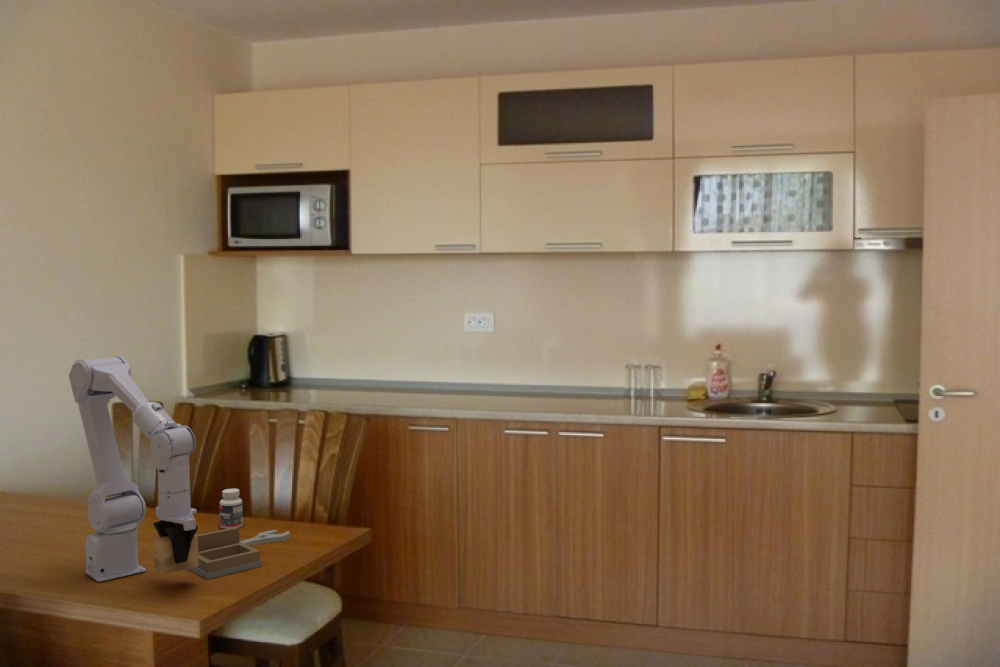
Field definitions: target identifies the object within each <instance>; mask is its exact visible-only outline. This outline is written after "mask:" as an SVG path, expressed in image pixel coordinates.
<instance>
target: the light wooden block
mask: <svg viewBox="0 0 1000 667" xmlns="http://www.w3.org/2000/svg"><path fill="white" fill-rule="evenodd" d="M197 535H198V534H195V535H194V537H193V540H192V542H191V546H190V550H189V555H188V559H187V561H186V562H182V563H175V560H174V556H173V549H172V544H171V541H170V538H169V536H165V537H160V536H159V537H157V538H156V537H155V538H153V555H154V556H153V558H154V563H153V564H154V571H156V572H158V573H160V574H162V575H165V574H170V573H175V572H179V571H183V570H189V569H188V568H193V567H197V566H198V536H197Z"/></svg>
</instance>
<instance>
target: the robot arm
mask: <svg viewBox="0 0 1000 667" xmlns="http://www.w3.org/2000/svg"><path fill="white" fill-rule="evenodd" d="M68 378H69V383H70V387H71V391H72V395H73V400H74V402H75V403H77V405H78V410H79V412H80V413H79V414H80V418H81V423H82V425H83V426H82V428H83V431H84V435H85V439H86V443H87V446H88V452H89V456H90V459H91V463H92V464H91V465H92V468H93V472H94V476H95V480H96V484H97V485H96V487H95V488H94V489H93V490H92V491H91V493H90V494H89V495H88V497H87V498H86V500H87V503H88V504H87V505H88V512H87V517H88V518H87V519H88V522H89V524H90V526H91V528H92V529H93V530H94V531H95V532H94V533H91V534H88V535H87V536H86V538H85V564H86V566H85V567H86V570H85V571H84V572H85V575H87V576H89V577H90V578H92V579H94V580H95V581H96V582H98V583H99V582H104V581H109V580H112V579H117V578H123V577H126V576H131V575H135V574H140V573H144V572H147V569H146V568H145V567H144V566H142V565H141V564H139V547H138V546H139V545H138V544H139V543H138V540H139V539H138V527H140V526H141V522H142V521H143V520H144V518H145V516H146V512H147V506H146V505H147V504H146V501H145V499H144V497H143V496H142V495H141V492H140V489H139V485H137V483H135V482H133V481H131V480H129V479H128V478H126V476H125V472H124V469H123V464H122V460H121V456H120V452H119V448H118V444H117V440H116V436H115V430H114V427H113V423H112V419H111V415H110V411H109V407H108V405H109V403H110V402H111V400H112V399H114V398H115V397H117V398H118V399H119V400H120V401H121V402H122V403H123V404H124V405H125V406H126V407H127V408H128V409H129V410H130V411H131V412H132V413H133V416H132V420H133V421H132V422H133V423H134V424H135V425H136V427H137V428H138V429H139V430H140V431H141V432H142V433H143V435H144V436H145V437H146V438H147V440H148V441H150V444H149V447H150V448H149V449H150V452H151V454H152V457H153V458H154V466H155V468H156V469H157V480H158V481H157V482H158V486H157V487H158V506H155V517H156V518H158V520H157V521H154V522H152V524H153V527H154V529H155V531H156V532H157V534H158V536H159V538H160V537H165V536H169V538H170V541H171V544H172V549H173V556H174V560H175V563H182V562H186V561H187V559H188V555H189V550H190V546H191V542H192V540H193V537H194V535H196V533H197V532H198V529H199V528H198V527H199V525H197V521H196V518H195V517H194V515H195V514H197V509H196V508H193V507H191V480H190V479H191V477H190V455H191V454H193V453H194V451H195V449H196V444H197V443H196V437H195V434H194V432H193V430H192V429H191V427H189V426H188V425H182V424H181V423H176V422H175V420H174V419H173V418H172V417H171V415H169V414H168V413H167V411H166V410H165V409H164V408H163V406H162V405H161V403H159V402H156V401H149V400H148V398H147V397H146V396H145V395H144V393H143V392H142V390H141V389H140V387H139V386H138V385H137V383H136V382H135V380H134V379H133V377H132V369H131V366H130V364H129V363H128V362H127V361H126V360H125V358H124V357H122V356H120V355H116V356H112V357H110V356H109V357H102V358H101V357H100V358H88V359H87V358H86V359H83V358H80V359H77V360H75V361H74V362H73V364H72V367H71V369H70V371H69V373H68ZM114 496H115V497H114ZM109 497H110V498H109Z"/></svg>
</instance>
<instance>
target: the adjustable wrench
mask: <svg viewBox="0 0 1000 667" xmlns="http://www.w3.org/2000/svg"><path fill="white" fill-rule="evenodd" d="M290 538H291V532H290V531H289V530H287V531H285V532H283V533H278V529H272V530H271V529H270V530H266V531H262V532H258V534H256V536H254V537H251V538H247V539H244V540H240V543H241V542H242V543H244V544H246V545H248V546H251V547H253V546H254V545H255V546H258V545H257V544H259V545H264V544H263V543H266V544H271V542H274V543H281V542H280V541H282V542H284V541H285V540H286V541H288V540H289V539H290ZM286 541H285V542H286ZM255 546H254V547H255Z"/></svg>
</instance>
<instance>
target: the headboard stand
mask: <svg viewBox="0 0 1000 667" xmlns="http://www.w3.org/2000/svg"><path fill="white" fill-rule="evenodd" d="M196 535H197V536H198V566H197V567H193V568H188V569H187V570H189V571H191V572H193V573H195V574H196V575H198V576H200V577H202V578H203V579H206V580H210V579H215V578H219V577H222V576H223V577H224V576H227V575H231V574H235V573H241V572H243V571H248V570H252V569H256V568H261V567H263V560H262V559H261V550H259V549H257V548H255V547H253V546H251V547H250V546H248V545H246V544H244V543H242V542H241V543H240V541H241V540H240V527H239V528H238V527H233V528H229V529H219V530H214V531H211V532H205V533H200V534H196Z"/></svg>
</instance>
